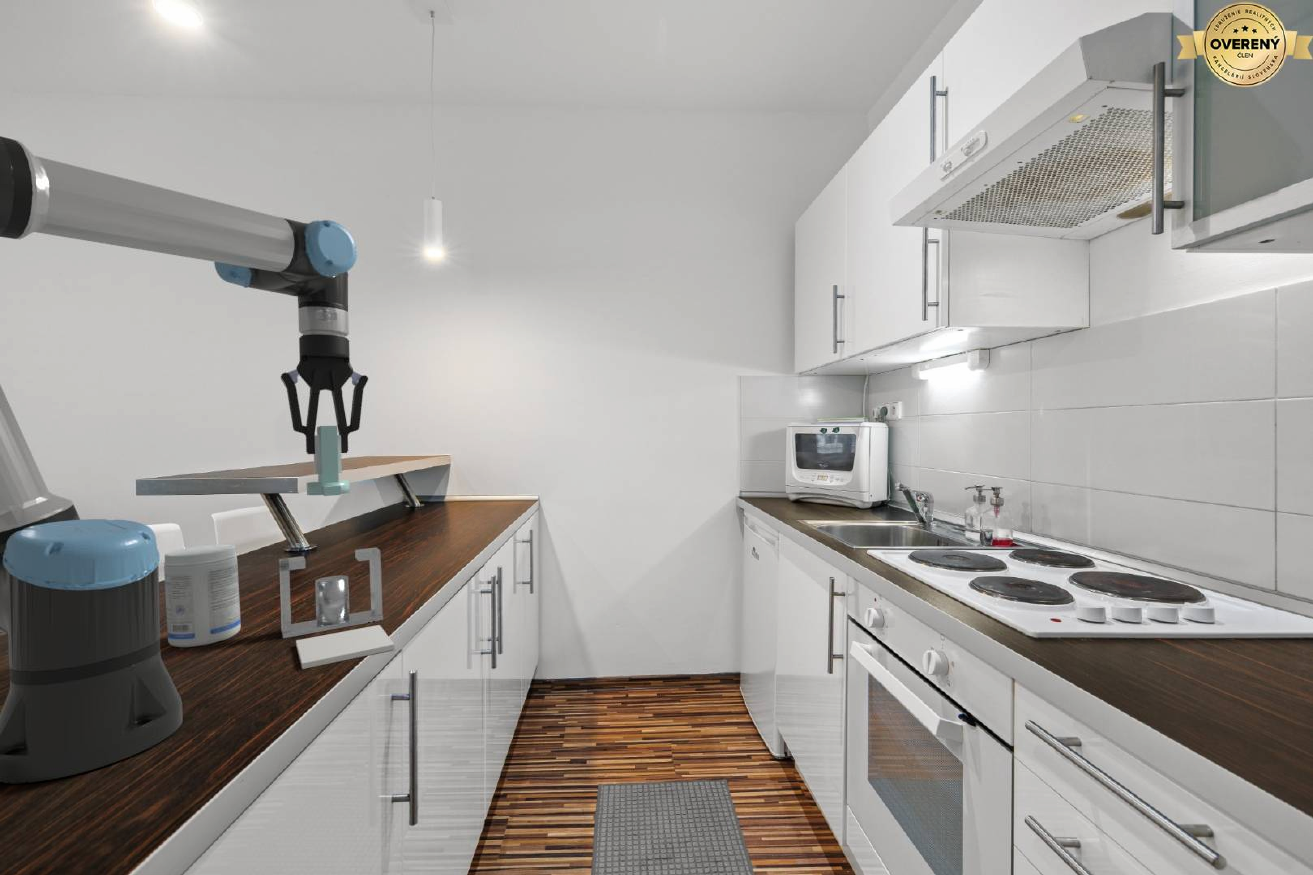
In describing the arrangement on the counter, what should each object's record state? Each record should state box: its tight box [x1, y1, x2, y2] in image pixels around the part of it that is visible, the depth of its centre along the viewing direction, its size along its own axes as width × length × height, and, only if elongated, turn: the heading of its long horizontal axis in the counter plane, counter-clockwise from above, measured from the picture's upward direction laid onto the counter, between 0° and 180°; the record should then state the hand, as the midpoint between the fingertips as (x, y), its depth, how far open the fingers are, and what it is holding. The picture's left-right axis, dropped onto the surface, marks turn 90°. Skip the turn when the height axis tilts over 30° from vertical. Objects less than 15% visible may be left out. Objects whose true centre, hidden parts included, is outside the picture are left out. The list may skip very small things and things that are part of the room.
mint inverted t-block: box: [306, 425, 350, 497], centre depth 103 cm, size 11×6×12 cm, turn 35°
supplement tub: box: [163, 544, 242, 648], centre depth 98 cm, size 10×10×15 cm
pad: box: [295, 624, 395, 670], centre depth 92 cm, size 12×12×1 cm
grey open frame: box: [278, 546, 384, 639], centre depth 103 cm, size 15×5×12 cm, turn 125°
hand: (328, 473), depth 103 cm, fingers closed on mint inverted t-block, 2 cm apart
